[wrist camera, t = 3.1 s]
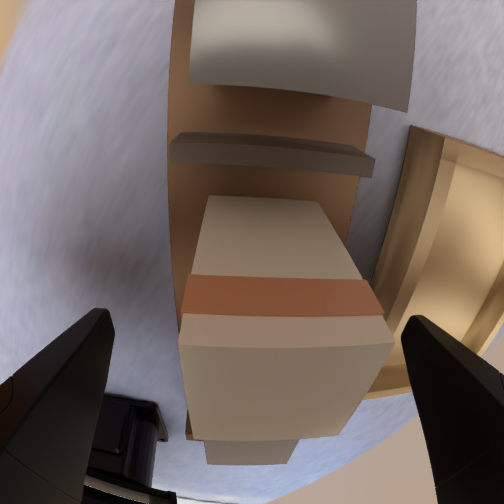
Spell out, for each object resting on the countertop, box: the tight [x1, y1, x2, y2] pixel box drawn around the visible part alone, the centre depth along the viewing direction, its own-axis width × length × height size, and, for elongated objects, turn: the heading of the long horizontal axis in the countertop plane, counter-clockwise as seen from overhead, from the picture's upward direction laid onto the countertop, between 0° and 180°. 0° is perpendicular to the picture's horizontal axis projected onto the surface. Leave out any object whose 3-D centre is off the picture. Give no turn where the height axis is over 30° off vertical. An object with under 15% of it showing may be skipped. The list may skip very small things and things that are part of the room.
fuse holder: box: [167, 0, 375, 441], centre depth 11 cm, size 25×7×4 cm, turn 176°
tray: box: [363, 125, 504, 400], centre depth 14 cm, size 15×10×2 cm, turn 176°
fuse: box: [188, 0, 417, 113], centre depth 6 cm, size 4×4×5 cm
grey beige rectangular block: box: [204, 439, 300, 465], centre depth 14 cm, size 4×4×5 cm
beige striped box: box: [178, 195, 396, 441], centre depth 9 cm, size 4×4×7 cm
